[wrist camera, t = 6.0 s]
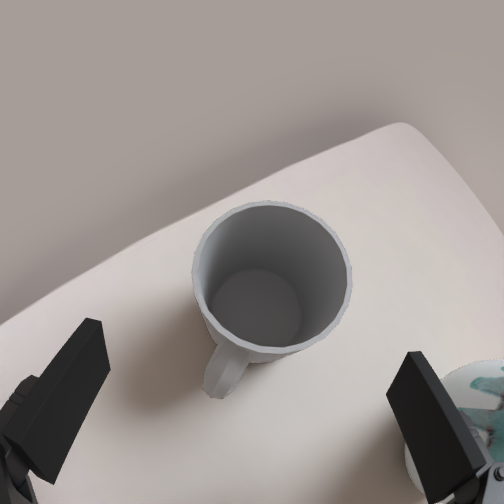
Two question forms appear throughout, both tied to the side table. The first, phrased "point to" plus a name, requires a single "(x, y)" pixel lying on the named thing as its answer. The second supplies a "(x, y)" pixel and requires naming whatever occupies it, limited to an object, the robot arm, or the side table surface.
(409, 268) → the side table surface
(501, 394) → the vase
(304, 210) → the cup
